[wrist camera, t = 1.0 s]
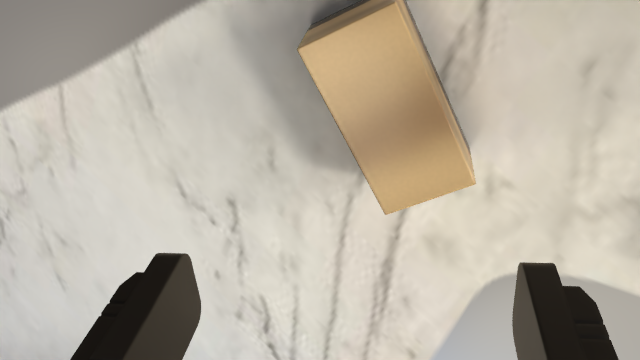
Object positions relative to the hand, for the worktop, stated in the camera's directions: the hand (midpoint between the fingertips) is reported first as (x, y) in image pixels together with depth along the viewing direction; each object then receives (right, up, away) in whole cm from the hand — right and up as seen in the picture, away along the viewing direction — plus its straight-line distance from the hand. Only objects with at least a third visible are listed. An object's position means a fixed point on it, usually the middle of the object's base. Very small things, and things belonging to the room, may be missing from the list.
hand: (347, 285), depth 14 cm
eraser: (+3, +8, +17) cm, 19 cm away
